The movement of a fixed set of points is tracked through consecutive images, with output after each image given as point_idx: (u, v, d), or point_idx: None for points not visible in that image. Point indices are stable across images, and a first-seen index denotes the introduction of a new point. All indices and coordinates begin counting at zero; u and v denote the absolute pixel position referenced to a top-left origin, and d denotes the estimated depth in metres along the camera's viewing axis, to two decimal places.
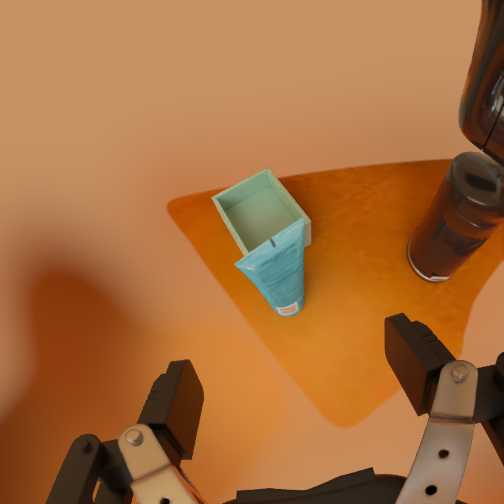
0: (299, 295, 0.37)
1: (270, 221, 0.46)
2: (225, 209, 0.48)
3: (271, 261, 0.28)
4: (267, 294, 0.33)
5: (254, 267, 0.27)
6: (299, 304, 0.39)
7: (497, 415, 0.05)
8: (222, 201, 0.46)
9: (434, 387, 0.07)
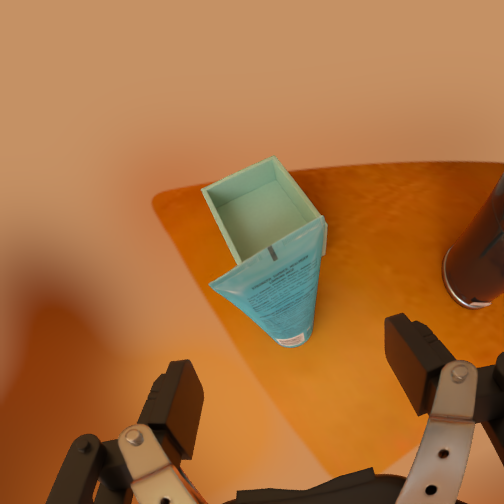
0: (307, 324, 0.26)
1: (275, 223, 0.36)
2: (218, 206, 0.38)
3: (269, 282, 0.17)
4: (263, 325, 0.23)
5: (241, 290, 0.17)
6: (306, 334, 0.29)
7: (497, 415, 0.05)
8: (214, 195, 0.36)
9: (434, 387, 0.07)
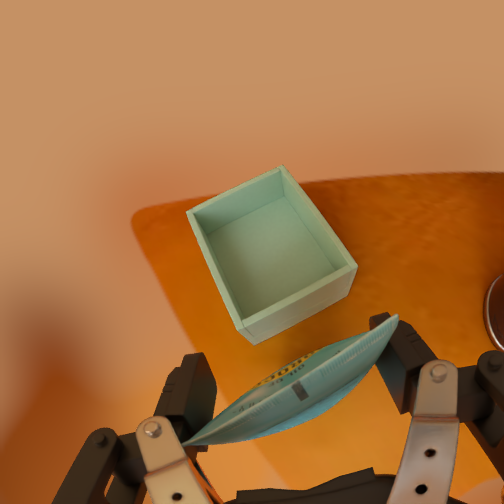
0: None
1: (283, 256, 0.27)
2: (210, 231, 0.30)
3: (289, 419, 0.09)
4: None
5: (241, 438, 0.08)
6: None
7: (480, 415, 0.06)
8: (204, 218, 0.28)
9: (414, 386, 0.07)
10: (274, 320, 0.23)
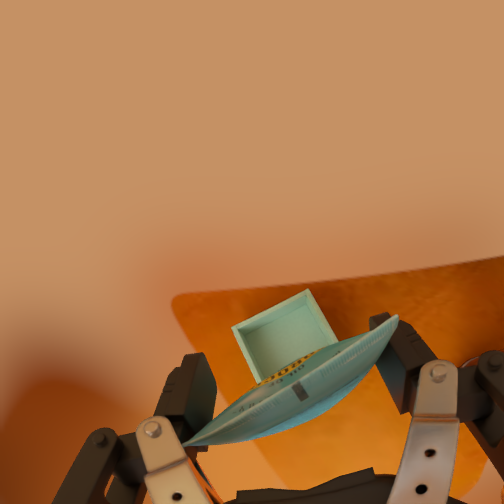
0: None
1: None
2: (247, 333, 0.37)
3: (288, 419, 0.09)
4: None
5: (241, 438, 0.08)
6: None
7: (480, 415, 0.06)
8: (245, 329, 0.35)
9: (414, 386, 0.07)
10: None
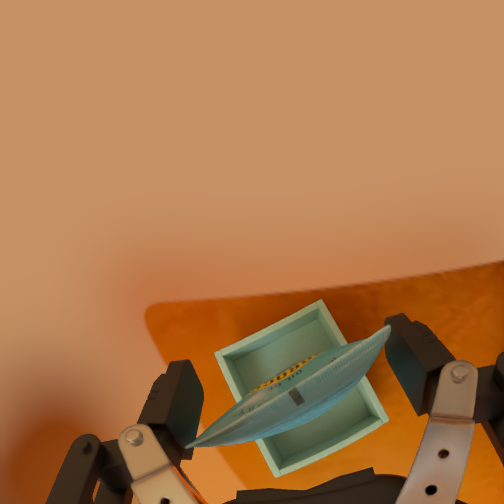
0: None
1: None
2: (238, 358, 0.27)
3: (286, 422, 0.09)
4: None
5: (241, 440, 0.09)
6: None
7: (497, 415, 0.05)
8: (233, 354, 0.25)
9: (434, 387, 0.07)
10: None
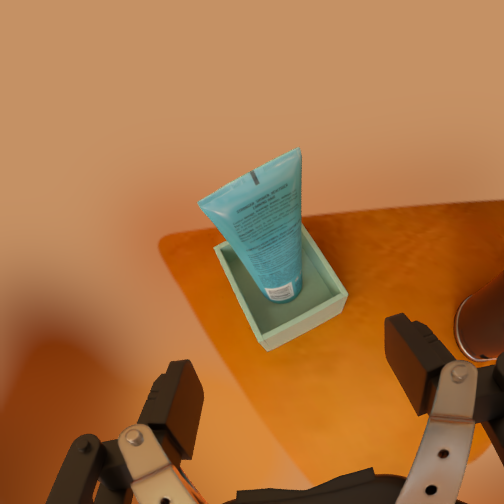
0: (295, 272, 0.28)
1: None
2: (231, 260, 0.37)
3: (252, 207, 0.19)
4: (250, 264, 0.24)
5: (227, 212, 0.19)
6: (295, 287, 0.31)
7: (497, 415, 0.05)
8: (228, 252, 0.35)
9: (434, 387, 0.07)
10: (285, 334, 0.30)
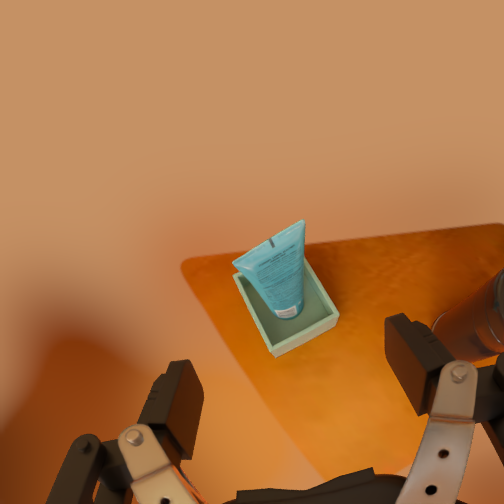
0: (298, 298, 0.36)
1: None
2: (246, 284, 0.45)
3: (269, 262, 0.27)
4: (265, 296, 0.32)
5: (252, 267, 0.27)
6: (298, 308, 0.39)
7: (497, 415, 0.05)
8: (243, 278, 0.43)
9: (434, 388, 0.07)
10: (290, 344, 0.38)
